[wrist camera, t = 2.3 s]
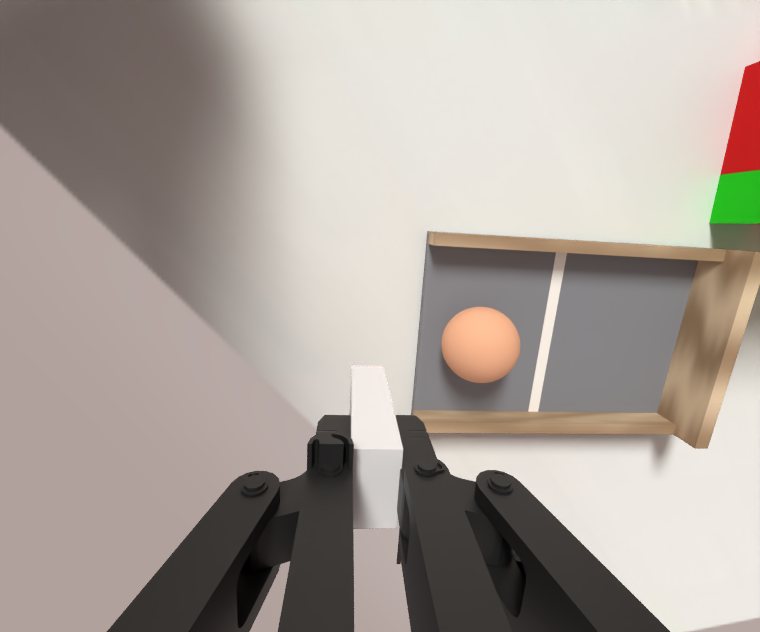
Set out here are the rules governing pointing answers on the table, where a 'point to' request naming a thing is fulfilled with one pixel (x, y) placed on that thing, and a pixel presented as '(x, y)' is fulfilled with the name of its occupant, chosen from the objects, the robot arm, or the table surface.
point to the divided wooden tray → (689, 361)
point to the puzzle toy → (742, 158)
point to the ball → (480, 344)
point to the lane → (555, 328)
